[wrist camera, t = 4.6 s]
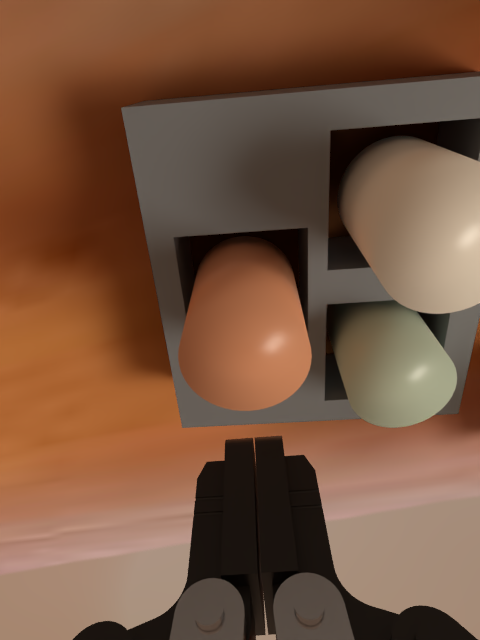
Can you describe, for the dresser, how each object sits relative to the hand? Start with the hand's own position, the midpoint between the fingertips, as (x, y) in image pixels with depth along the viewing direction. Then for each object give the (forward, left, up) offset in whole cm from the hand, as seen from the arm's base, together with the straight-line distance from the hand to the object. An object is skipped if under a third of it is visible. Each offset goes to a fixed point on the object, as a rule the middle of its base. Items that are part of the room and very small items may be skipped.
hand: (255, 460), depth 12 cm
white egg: (-6, -4, -10) cm, 12 cm away
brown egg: (0, -1, -10) cm, 10 cm away
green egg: (-6, +3, -12) cm, 14 cm away
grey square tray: (-3, -1, -13) cm, 13 cm away
